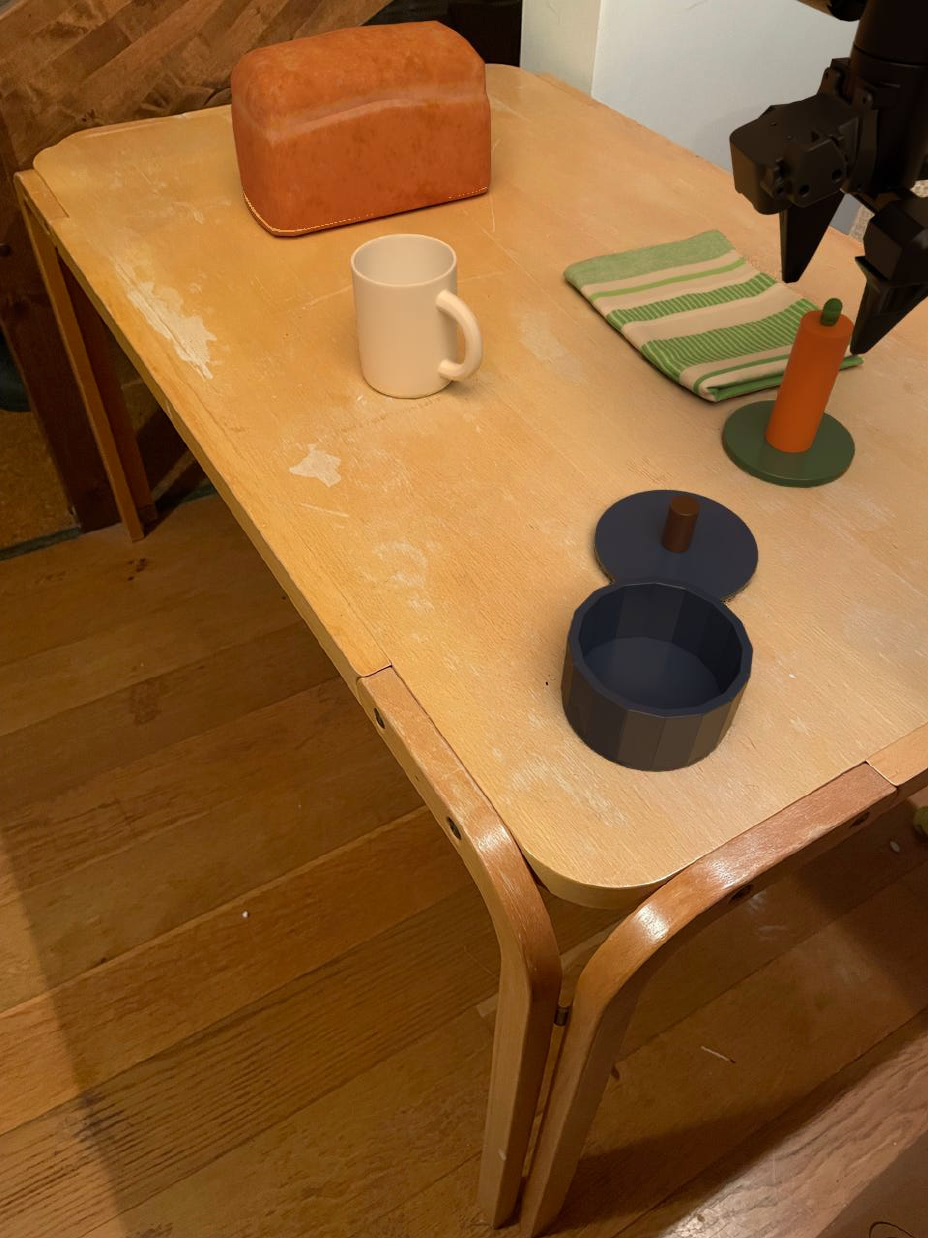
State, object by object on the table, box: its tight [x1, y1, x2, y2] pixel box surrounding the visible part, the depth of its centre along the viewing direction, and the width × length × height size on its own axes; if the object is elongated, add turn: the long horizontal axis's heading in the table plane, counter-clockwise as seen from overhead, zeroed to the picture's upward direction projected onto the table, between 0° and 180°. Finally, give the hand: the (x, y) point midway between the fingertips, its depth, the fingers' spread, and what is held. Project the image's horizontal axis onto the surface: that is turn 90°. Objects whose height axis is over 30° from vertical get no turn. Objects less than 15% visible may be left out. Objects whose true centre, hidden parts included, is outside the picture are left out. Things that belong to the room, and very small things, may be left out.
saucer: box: [721, 399, 856, 488], centre depth 70 cm, size 10×10×1 cm
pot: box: [560, 576, 754, 773], centre depth 52 cm, size 10×10×6 cm
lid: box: [593, 489, 759, 603], centre depth 61 cm, size 11×11×5 cm
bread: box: [229, 20, 492, 237], centre depth 93 cm, size 14×26×16 cm, turn 116°
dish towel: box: [562, 228, 865, 403], centre depth 81 cm, size 18×23×3 cm
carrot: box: [765, 297, 855, 453], centre depth 65 cm, size 4×4×12 cm
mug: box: [349, 233, 484, 399], centre depth 72 cm, size 12×8×10 cm
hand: (821, 315), depth 59 cm, fingers open, 9 cm apart
